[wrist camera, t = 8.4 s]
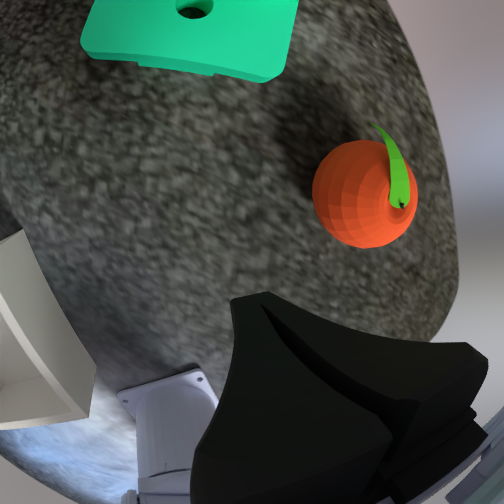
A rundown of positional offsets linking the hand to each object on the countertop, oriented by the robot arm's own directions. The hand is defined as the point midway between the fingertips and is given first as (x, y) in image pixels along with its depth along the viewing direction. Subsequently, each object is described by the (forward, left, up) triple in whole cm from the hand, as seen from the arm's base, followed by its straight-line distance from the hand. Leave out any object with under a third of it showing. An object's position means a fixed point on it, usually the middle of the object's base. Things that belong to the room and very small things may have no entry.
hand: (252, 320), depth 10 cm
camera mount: (+14, -3, -11) cm, 18 cm away
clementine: (+1, -10, -11) cm, 15 cm away
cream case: (-1, +18, -10) cm, 21 cm away
